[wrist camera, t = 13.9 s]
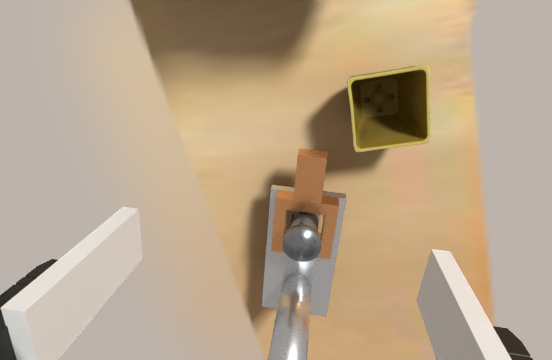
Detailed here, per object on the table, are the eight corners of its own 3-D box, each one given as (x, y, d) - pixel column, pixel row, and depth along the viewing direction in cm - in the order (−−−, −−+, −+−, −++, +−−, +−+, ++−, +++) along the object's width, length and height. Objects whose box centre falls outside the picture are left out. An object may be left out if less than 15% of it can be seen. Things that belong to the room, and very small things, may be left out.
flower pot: (413, 125, 49) (431, 143, 40) (349, 134, 50) (354, 153, 42) (411, 59, 46) (429, 64, 37) (343, 71, 47) (346, 78, 39)
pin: (291, 208, 56) (281, 259, 43) (294, 182, 54) (284, 226, 41) (320, 212, 56) (318, 264, 43) (323, 185, 54) (323, 231, 41)
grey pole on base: (326, 284, 60) (325, 426, 38) (269, 276, 61) (236, 409, 39) (350, 138, 51) (367, 217, 28) (281, 131, 51) (246, 201, 29)
